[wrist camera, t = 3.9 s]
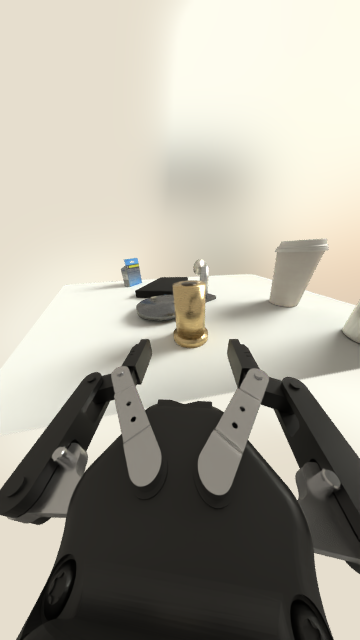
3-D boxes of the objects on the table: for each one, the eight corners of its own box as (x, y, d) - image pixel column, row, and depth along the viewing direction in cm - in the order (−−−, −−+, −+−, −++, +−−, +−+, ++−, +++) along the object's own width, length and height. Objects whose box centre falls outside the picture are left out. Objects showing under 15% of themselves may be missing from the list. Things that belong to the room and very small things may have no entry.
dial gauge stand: (202, 294, 48) (203, 258, 42) (215, 298, 44) (218, 259, 38) (174, 303, 42) (170, 263, 37) (186, 309, 38) (184, 264, 32)
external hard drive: (187, 283, 66) (187, 277, 64) (172, 299, 46) (171, 291, 45) (161, 283, 70) (160, 277, 68) (136, 298, 50) (134, 290, 49)
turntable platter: (171, 296, 45) (171, 291, 44) (200, 308, 35) (200, 302, 34) (130, 307, 39) (129, 302, 38) (151, 327, 28) (149, 319, 27)
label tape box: (136, 282, 74) (131, 258, 68) (142, 282, 72) (137, 257, 67) (124, 286, 67) (117, 259, 61) (130, 287, 66) (124, 259, 60)
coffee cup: (294, 312, 32) (322, 239, 25) (256, 301, 39) (269, 242, 32) (312, 303, 36) (340, 237, 29) (274, 294, 43) (289, 241, 36)
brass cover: (192, 325, 30) (191, 277, 25) (214, 338, 25) (218, 282, 20) (168, 336, 27) (161, 283, 22) (188, 353, 22) (185, 291, 17)
